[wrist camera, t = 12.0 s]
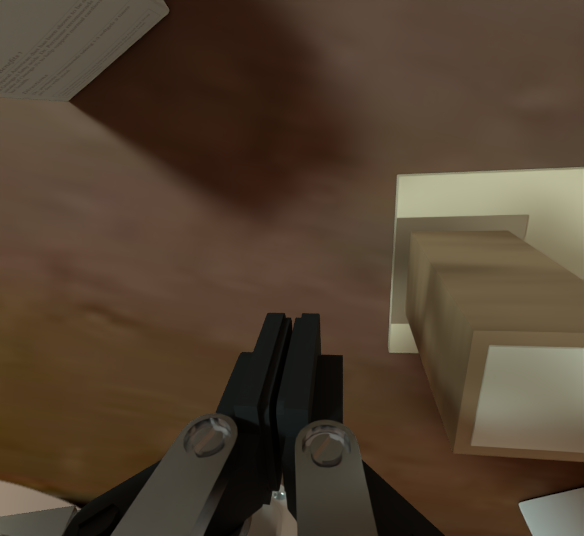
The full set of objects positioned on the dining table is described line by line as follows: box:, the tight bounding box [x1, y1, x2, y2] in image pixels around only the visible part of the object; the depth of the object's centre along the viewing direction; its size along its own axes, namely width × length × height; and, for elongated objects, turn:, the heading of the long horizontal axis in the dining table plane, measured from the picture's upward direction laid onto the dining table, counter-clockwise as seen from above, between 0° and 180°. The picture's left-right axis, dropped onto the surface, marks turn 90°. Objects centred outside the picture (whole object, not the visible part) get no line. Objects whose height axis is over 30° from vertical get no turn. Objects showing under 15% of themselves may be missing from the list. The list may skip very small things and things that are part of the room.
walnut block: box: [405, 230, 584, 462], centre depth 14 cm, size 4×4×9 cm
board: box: [388, 167, 584, 353], centre depth 18 cm, size 10×16×1 cm, turn 93°
